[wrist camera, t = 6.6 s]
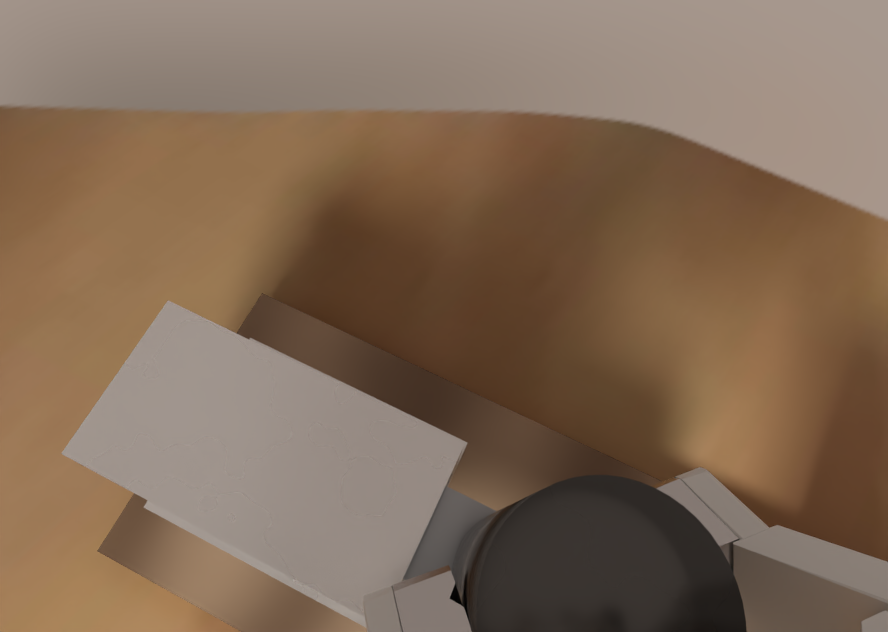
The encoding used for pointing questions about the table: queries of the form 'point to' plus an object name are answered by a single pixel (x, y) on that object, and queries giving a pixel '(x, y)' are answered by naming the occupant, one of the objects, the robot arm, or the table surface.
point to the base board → (393, 382)
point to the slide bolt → (582, 561)
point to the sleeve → (269, 459)
